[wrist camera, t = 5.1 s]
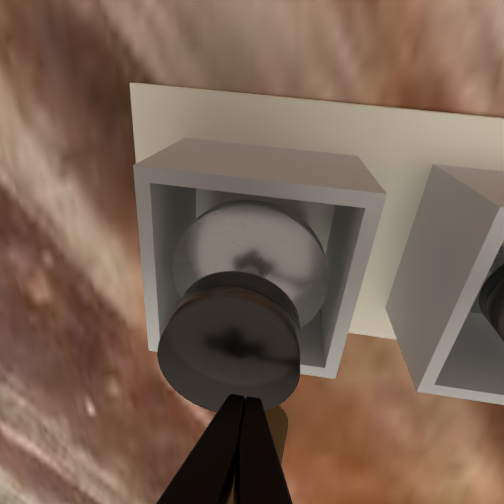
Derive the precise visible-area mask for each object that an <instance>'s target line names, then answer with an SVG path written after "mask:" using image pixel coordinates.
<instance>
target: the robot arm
mask: <svg viewBox="0 0 504 504" xmlns="http://www.w3.org/2000/svg"><path fill="white" fill-rule="evenodd" d="M235 470H236V471H235ZM234 478H235V480H234ZM233 483H234V489H233ZM232 489H233V504H293V503H292V500H291V497H290V493H289V490H288V487H287V483H286V480H285V477H284V473H283V470H282V467H281V463H280V460H279V456H278V453H277V450H276V446H275V443H274V440H273V436H272V433H271V430H270V426H269V423H268V420H267V416H266V413H265V410H264V406H263V403H262V400H261V399H260V398H256V397H249V396H248V397H246V398H245V397H244V396H243V395H236V394H230V395H229V396H228V397H227V399H226V400H225V402H224V403H223V405H222V406H221V408H220V409H219V411H218V412H217V414H216V415H215V416H214V418H213V419H212V421H211V422H210V424H209V425H208V427H207V428H206V430H205V431H204V433H203V434H202V436H201V437H200V439H199V440H198V442H197V443H196V445H195V446H194V448H193V449H192V451H191V452H190V454H189V455H188V457H187V458H186V460H185V461H184V463H183V464H182V466H181V467H180V469H179V470H178V472H177V473H176V475H175V476H174V478H173V479H172V481H171V482H170V484H169V485H168V487H167V488H166V490H165V491H164V493H163V494H162V496H161V497H160V499H159V500H158V502H157V503H156V504H229V502H230V498H231V494H232Z"/></svg>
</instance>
